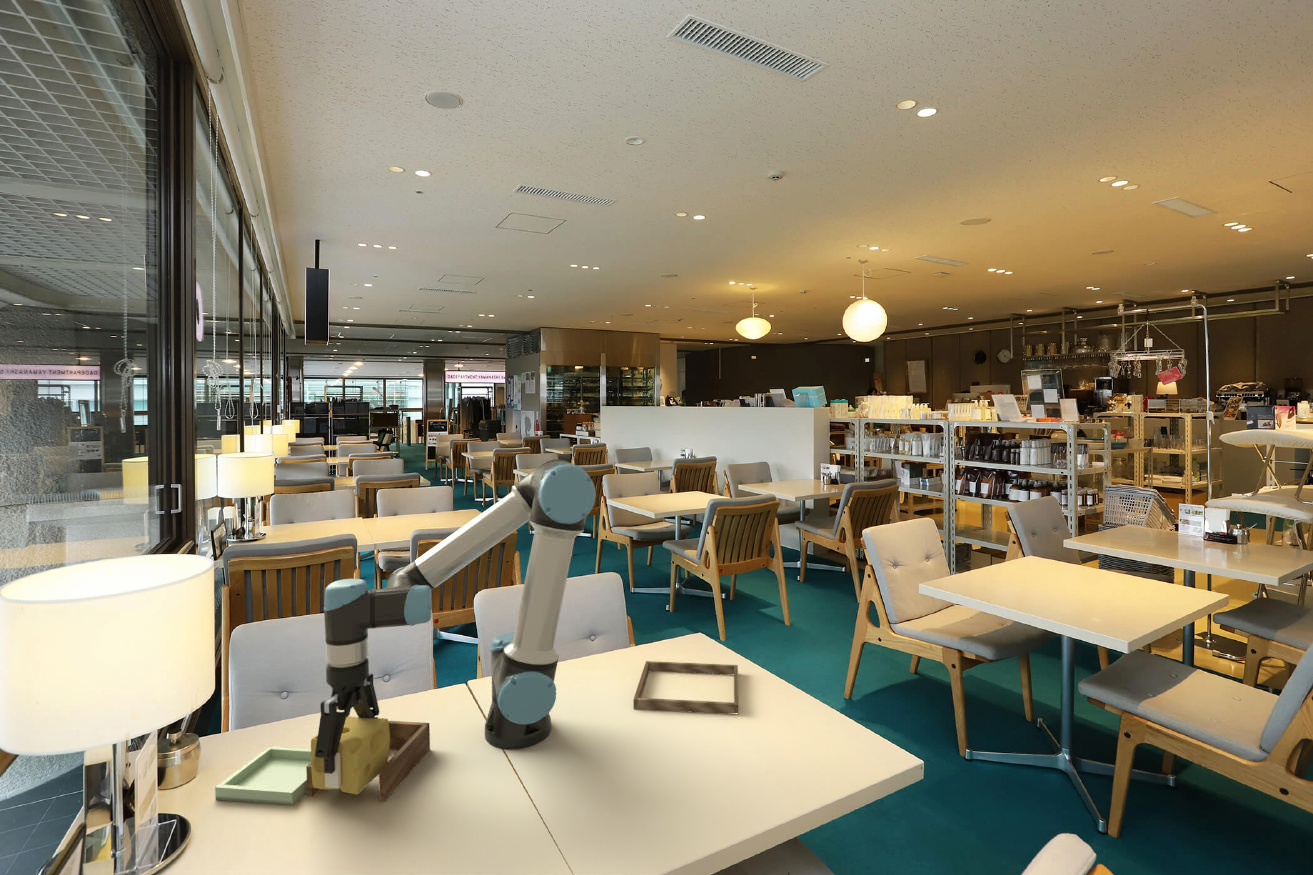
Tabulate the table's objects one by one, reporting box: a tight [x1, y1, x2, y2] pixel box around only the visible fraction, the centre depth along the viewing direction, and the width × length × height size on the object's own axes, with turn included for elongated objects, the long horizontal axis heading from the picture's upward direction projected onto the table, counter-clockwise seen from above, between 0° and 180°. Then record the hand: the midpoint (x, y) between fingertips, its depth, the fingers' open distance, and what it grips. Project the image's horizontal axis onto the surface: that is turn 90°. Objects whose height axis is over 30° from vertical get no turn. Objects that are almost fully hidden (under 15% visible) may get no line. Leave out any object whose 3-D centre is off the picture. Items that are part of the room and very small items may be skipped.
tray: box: [214, 746, 311, 806], centre depth 133 cm, size 16×15×2 cm
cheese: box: [310, 715, 390, 795], centre depth 129 cm, size 10×11×10 cm
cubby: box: [306, 720, 431, 803], centre depth 136 cm, size 16×19×6 cm
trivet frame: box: [632, 660, 740, 714], centre depth 174 cm, size 26×24×2 cm
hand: (350, 770), depth 129 cm, fingers closed on cheese, 10 cm apart
